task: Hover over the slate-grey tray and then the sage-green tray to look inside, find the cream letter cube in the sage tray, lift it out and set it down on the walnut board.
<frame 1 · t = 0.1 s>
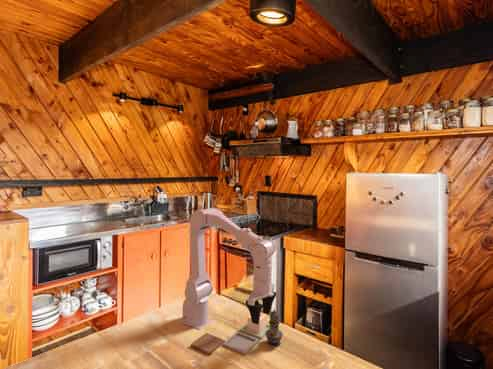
hand: (261, 318, 97), 10 cm above the countertop, tool pointing down, fingers open, 7 cm apart
tray grey: (241, 344, 99), on the countertop
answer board: (208, 344, 98), on the countertop
letter cube: (256, 329, 108), resting on tray sage
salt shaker: (273, 344, 100), on the countertop
tray sage: (256, 330, 108), on the countertop
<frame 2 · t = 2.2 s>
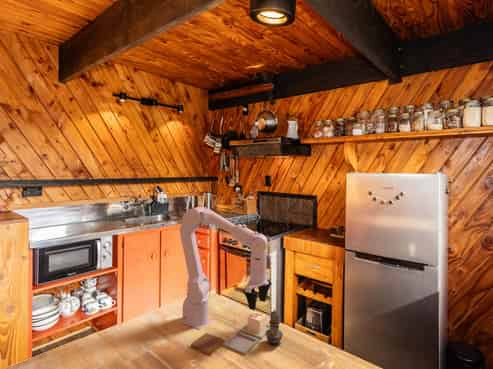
hand: (257, 305, 107), 9 cm above the countertop, tool pointing down, fingers open, 7 cm apart
nothing on the countertop moved.
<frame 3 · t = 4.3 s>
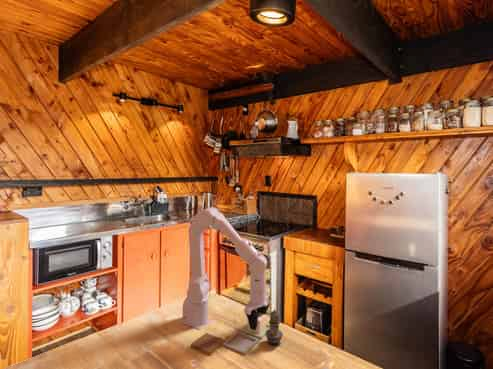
hand: (256, 325, 108), 2 cm above the countertop, tool pointing down, fingers closed on letter cube, 5 cm apart
letter cube: (256, 329, 108), resting on tray sage, touching gripper
everything else where it was.
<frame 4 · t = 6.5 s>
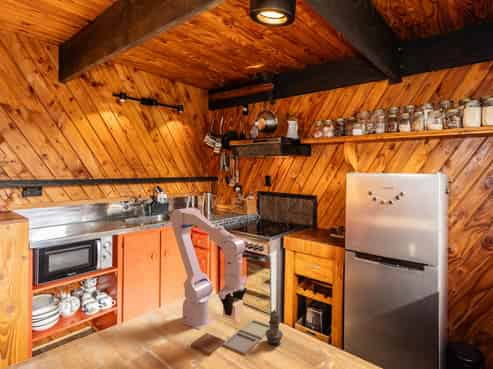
hand: (232, 311, 102), 9 cm above the countertop, tool pointing down, fingers closed on letter cube, 5 cm apart
letter cube: (232, 315, 103), point 8 cm above the countertop, touching gripper
everything else where it was.
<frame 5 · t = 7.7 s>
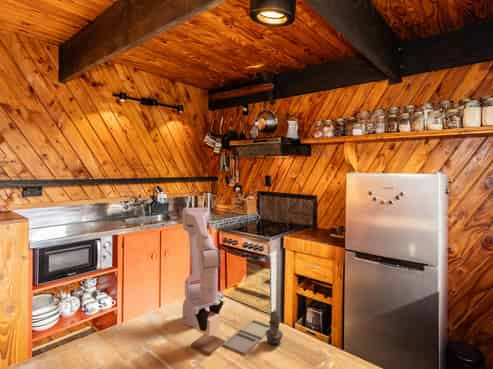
hand: (208, 326, 98), 6 cm above the countertop, tool pointing down, fingers closed on letter cube, 5 cm apart
letter cube: (208, 330, 98), point 5 cm above the countertop, touching gripper
everything else where it was.
when the fingers open (4 cm above the countertop, at t = 8.7 s): letter cube drops 1 cm, resting on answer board.
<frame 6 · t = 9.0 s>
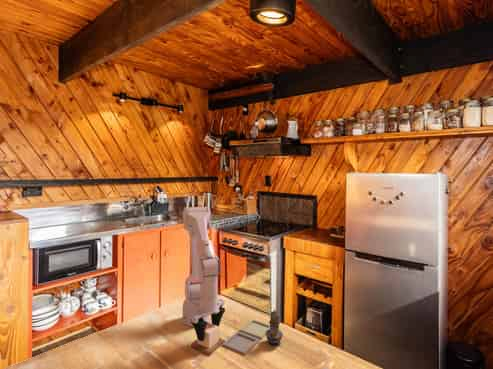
hand: (208, 334, 98), 4 cm above the countertop, tool pointing down, fingers open, 7 cm apart
letter cube: (208, 342, 98), point 1 cm above the countertop, touching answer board
everything else where it was.
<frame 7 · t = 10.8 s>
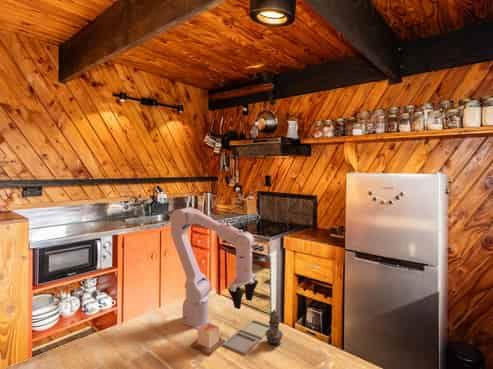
hand: (243, 303, 106), 10 cm above the countertop, tool pointing down, fingers open, 7 cm apart
nothing on the countertop moved.
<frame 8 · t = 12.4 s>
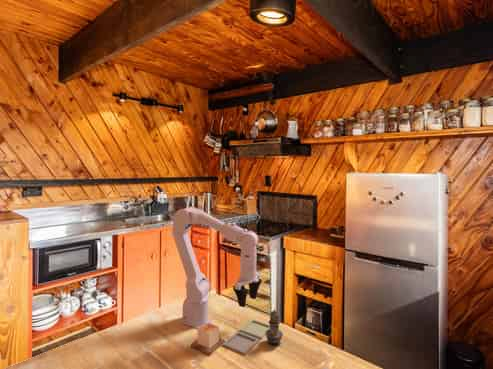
hand: (247, 302, 107), 10 cm above the countertop, tool pointing down, fingers open, 7 cm apart
nothing on the countertop moved.
at the end: letter cube 0.1 cm off-centre on the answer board, point 1.0 cm above the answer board's base; letter cube tilted 0°; the gripper is holding nothing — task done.
